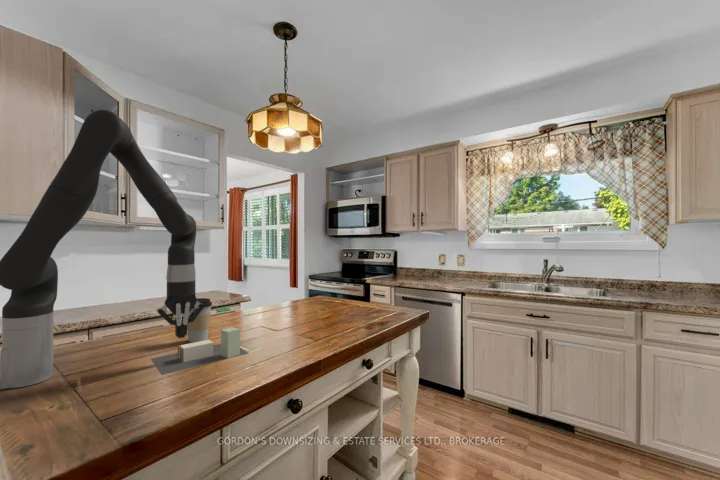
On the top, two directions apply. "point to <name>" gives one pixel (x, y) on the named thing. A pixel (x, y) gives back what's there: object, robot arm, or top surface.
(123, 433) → the top surface
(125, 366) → the top surface
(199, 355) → the cream block
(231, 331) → the sage block
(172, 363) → the mat
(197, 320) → the coffee cup
